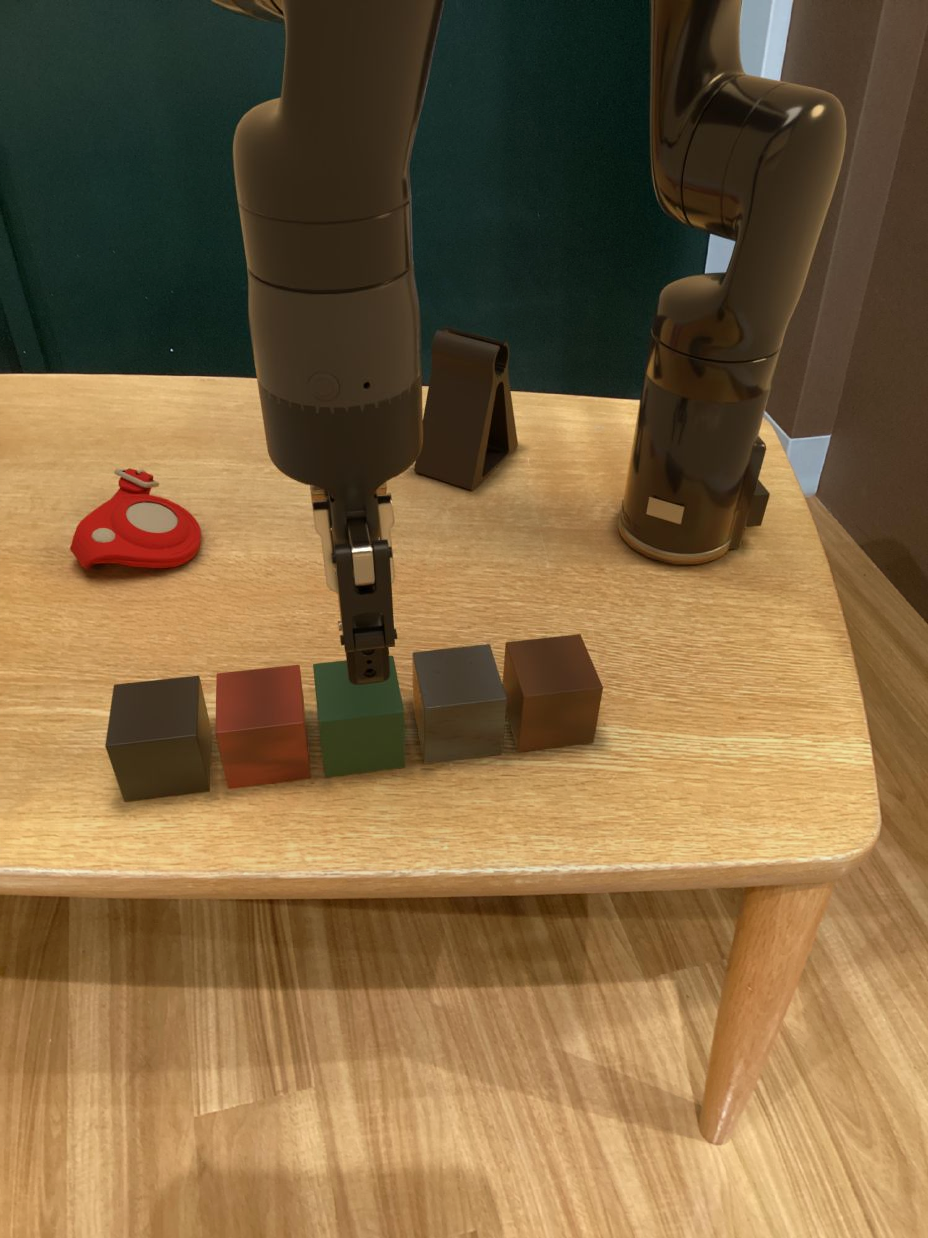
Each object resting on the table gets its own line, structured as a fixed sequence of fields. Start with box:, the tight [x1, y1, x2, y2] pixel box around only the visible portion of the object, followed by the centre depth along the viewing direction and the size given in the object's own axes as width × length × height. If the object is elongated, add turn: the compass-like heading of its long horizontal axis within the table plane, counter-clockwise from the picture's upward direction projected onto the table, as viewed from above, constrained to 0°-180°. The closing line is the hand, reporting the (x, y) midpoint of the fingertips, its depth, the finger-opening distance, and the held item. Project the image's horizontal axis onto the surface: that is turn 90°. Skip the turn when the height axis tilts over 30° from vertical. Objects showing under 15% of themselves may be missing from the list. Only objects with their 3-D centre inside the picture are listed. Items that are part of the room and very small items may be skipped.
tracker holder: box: [69, 468, 202, 570], centre depth 73 cm, size 12×4×10 cm
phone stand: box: [413, 325, 519, 491], centre depth 81 cm, size 9×6×12 cm, turn 150°
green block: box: [312, 654, 406, 778], centre depth 57 cm, size 5×5×5 cm
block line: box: [104, 633, 604, 803], centre depth 57 cm, size 29×5×5 cm, turn 101°
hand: (361, 626), depth 53 cm, fingers open, 8 cm apart
